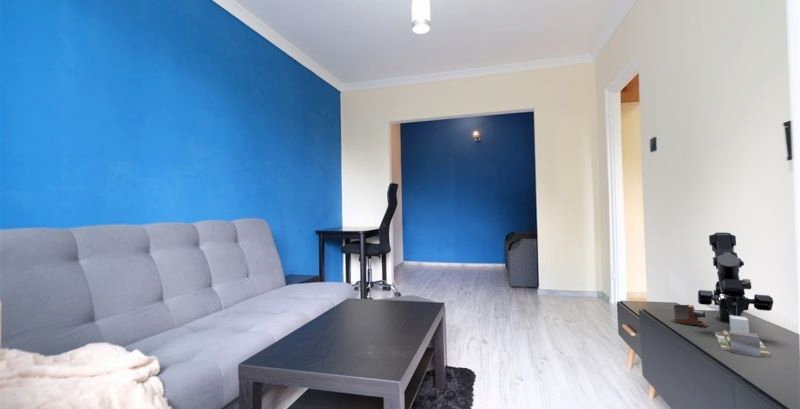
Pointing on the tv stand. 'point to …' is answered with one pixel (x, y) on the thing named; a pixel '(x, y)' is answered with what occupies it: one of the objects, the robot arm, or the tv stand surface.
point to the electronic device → (688, 315)
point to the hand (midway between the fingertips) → (737, 321)
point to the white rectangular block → (738, 324)
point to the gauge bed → (742, 343)
